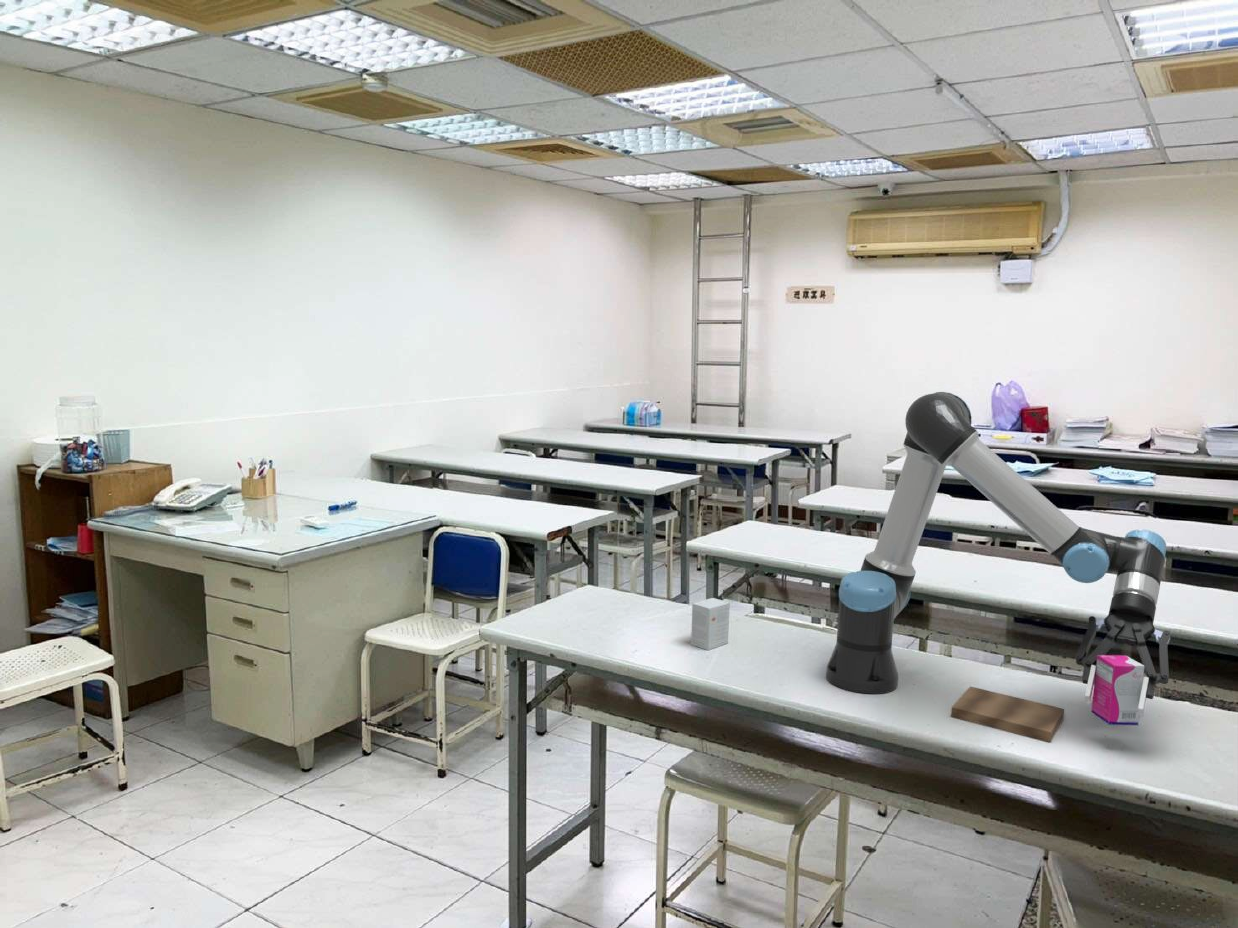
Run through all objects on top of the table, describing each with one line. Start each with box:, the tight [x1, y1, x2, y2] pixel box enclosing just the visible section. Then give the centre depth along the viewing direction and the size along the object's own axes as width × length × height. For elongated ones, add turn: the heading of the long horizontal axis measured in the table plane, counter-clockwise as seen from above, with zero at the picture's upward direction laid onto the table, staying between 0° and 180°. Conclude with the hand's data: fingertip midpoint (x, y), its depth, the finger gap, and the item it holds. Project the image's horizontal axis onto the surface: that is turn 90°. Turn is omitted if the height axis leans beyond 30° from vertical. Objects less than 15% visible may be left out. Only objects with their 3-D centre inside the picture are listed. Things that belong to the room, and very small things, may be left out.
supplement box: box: [1090, 654, 1145, 726], centre depth 160 cm, size 6×6×12 cm
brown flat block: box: [950, 686, 1065, 743], centre depth 171 cm, size 18×14×2 cm
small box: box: [690, 597, 731, 651], centre depth 210 cm, size 8×6×10 cm
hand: (1113, 705), depth 157 cm, fingers closed on supplement box, 8 cm apart
